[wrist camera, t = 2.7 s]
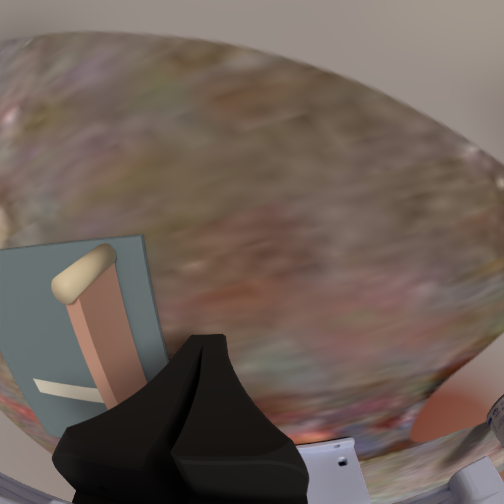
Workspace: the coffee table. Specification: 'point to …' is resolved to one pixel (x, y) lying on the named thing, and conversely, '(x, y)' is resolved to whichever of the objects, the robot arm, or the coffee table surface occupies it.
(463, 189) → the coffee table surface
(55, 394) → the card
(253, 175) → the coffee table surface
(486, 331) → the coffee table surface
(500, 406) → the energy drink
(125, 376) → the fence panel
